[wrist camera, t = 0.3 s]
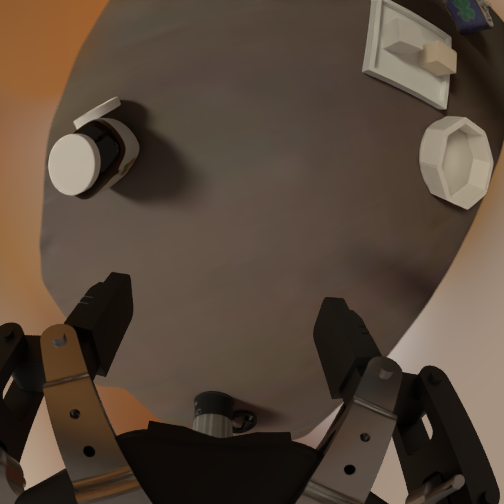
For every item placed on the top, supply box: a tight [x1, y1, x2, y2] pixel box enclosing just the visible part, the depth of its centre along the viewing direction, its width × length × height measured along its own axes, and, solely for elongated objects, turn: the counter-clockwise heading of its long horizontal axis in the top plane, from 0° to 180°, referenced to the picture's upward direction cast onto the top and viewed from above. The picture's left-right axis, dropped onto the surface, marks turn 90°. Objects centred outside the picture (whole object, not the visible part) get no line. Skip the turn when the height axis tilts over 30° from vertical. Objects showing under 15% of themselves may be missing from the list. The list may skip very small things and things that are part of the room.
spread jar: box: [48, 96, 139, 199], centre depth 28 cm, size 12×11×12 cm
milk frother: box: [193, 391, 257, 438], centre depth 51 cm, size 14×16×15 cm
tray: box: [362, 0, 451, 109], centre depth 27 cm, size 15×15×2 cm
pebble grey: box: [381, 18, 423, 56], centre depth 25 cm, size 4×4×5 cm
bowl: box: [419, 116, 493, 209], centre depth 33 cm, size 14×14×5 cm
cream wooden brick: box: [419, 40, 457, 76], centre depth 25 cm, size 4×4×5 cm
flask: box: [442, 0, 493, 34], centre depth 18 cm, size 9×3×11 cm, turn 25°
